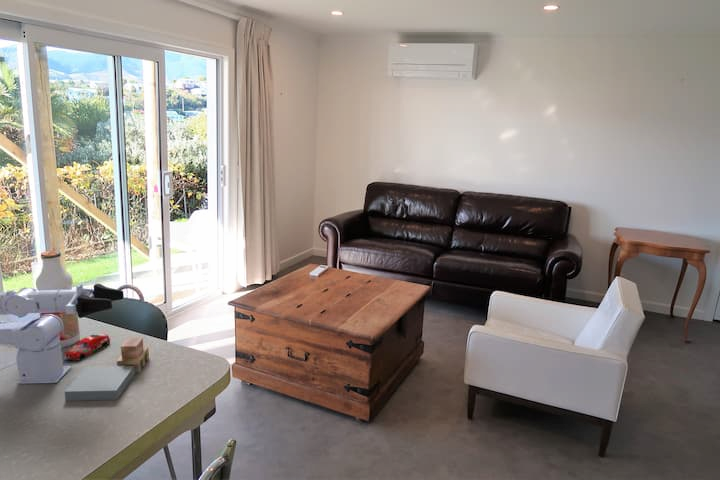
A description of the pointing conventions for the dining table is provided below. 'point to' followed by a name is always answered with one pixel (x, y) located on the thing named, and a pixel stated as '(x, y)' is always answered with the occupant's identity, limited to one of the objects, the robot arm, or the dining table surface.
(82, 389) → the dock
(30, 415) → the dining table surface
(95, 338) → the race car
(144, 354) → the tan boxy piece
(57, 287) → the fruit juice
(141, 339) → the salmon pink block
